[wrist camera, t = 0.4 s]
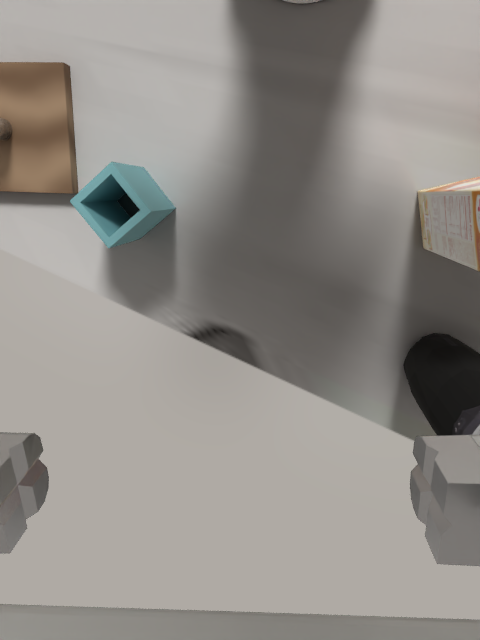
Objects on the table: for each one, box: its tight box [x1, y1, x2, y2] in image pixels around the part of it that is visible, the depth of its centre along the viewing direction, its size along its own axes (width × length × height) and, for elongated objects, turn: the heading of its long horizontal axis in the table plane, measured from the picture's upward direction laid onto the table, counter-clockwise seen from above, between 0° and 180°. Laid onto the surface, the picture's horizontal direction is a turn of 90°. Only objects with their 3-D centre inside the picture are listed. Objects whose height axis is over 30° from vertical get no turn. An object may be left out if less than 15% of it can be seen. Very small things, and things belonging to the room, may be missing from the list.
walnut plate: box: [0, 62, 78, 193], centre depth 53 cm, size 14×16×2 cm
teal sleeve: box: [70, 162, 176, 248], centre depth 50 cm, size 6×6×10 cm
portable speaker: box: [404, 334, 480, 436], centre depth 47 cm, size 9×9×20 cm
